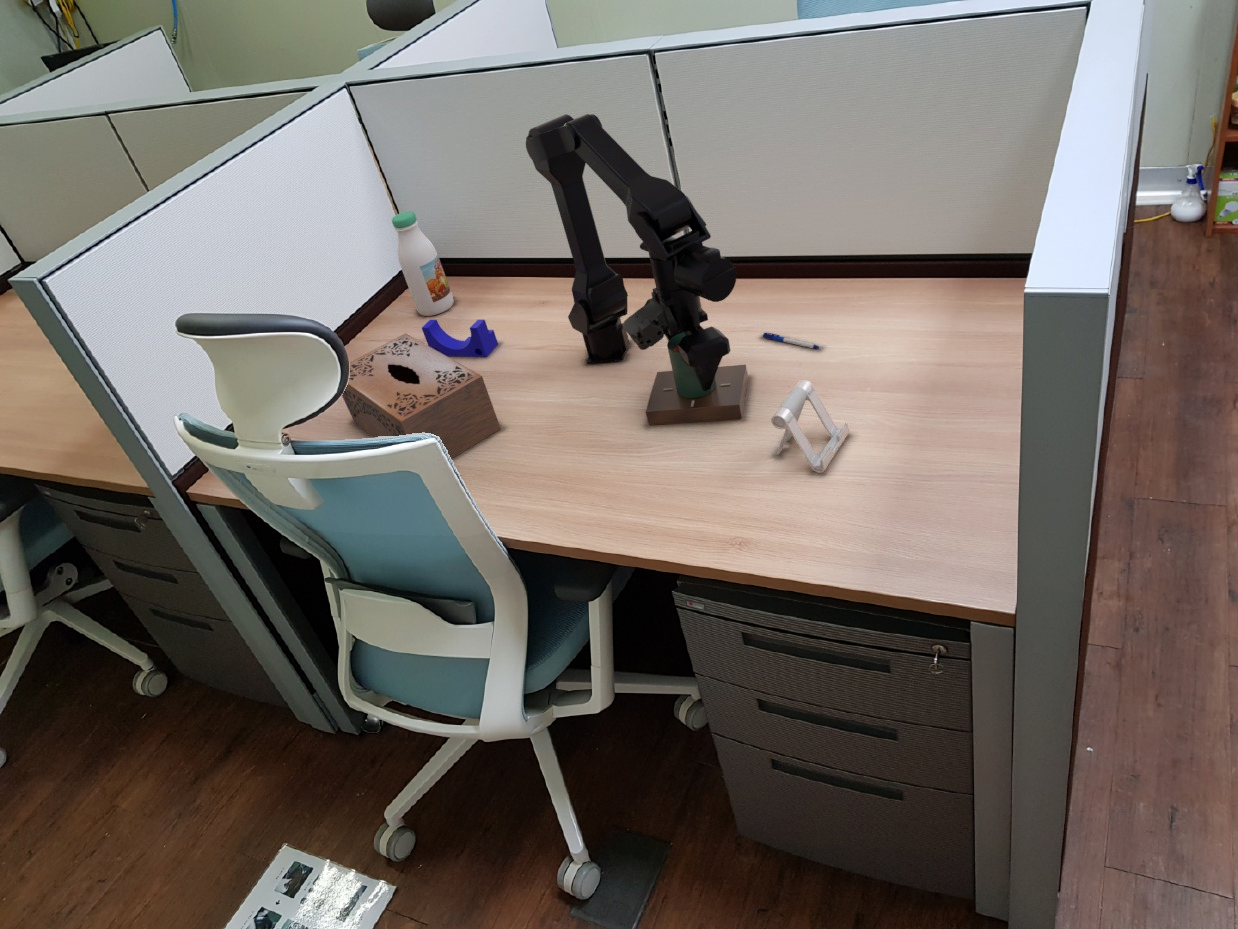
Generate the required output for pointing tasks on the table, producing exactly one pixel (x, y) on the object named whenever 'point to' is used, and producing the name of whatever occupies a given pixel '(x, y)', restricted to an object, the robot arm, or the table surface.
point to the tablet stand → (788, 420)
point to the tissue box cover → (419, 395)
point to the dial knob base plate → (698, 399)
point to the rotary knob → (685, 372)
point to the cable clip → (471, 347)
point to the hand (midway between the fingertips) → (694, 376)
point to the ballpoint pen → (789, 340)
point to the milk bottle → (421, 267)
